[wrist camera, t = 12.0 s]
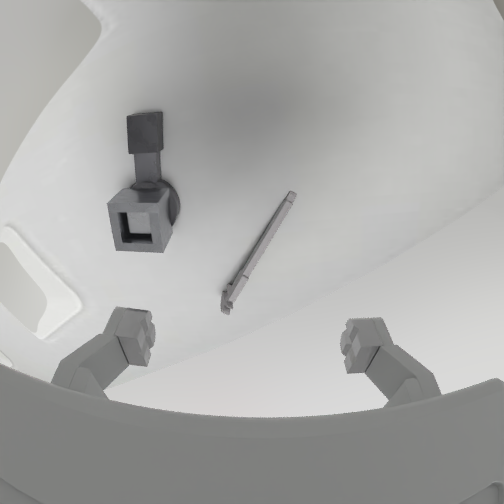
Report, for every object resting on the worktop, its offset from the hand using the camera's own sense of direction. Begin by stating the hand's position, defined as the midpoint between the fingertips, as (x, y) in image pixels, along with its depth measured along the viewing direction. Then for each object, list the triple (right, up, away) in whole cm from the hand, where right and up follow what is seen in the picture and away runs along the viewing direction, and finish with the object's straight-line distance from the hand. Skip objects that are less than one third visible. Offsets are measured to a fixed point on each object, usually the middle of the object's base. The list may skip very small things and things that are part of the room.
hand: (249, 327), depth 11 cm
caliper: (+1, +4, +32) cm, 32 cm away
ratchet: (-14, +14, +25) cm, 32 cm away
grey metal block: (-14, +9, +25) cm, 30 cm away
